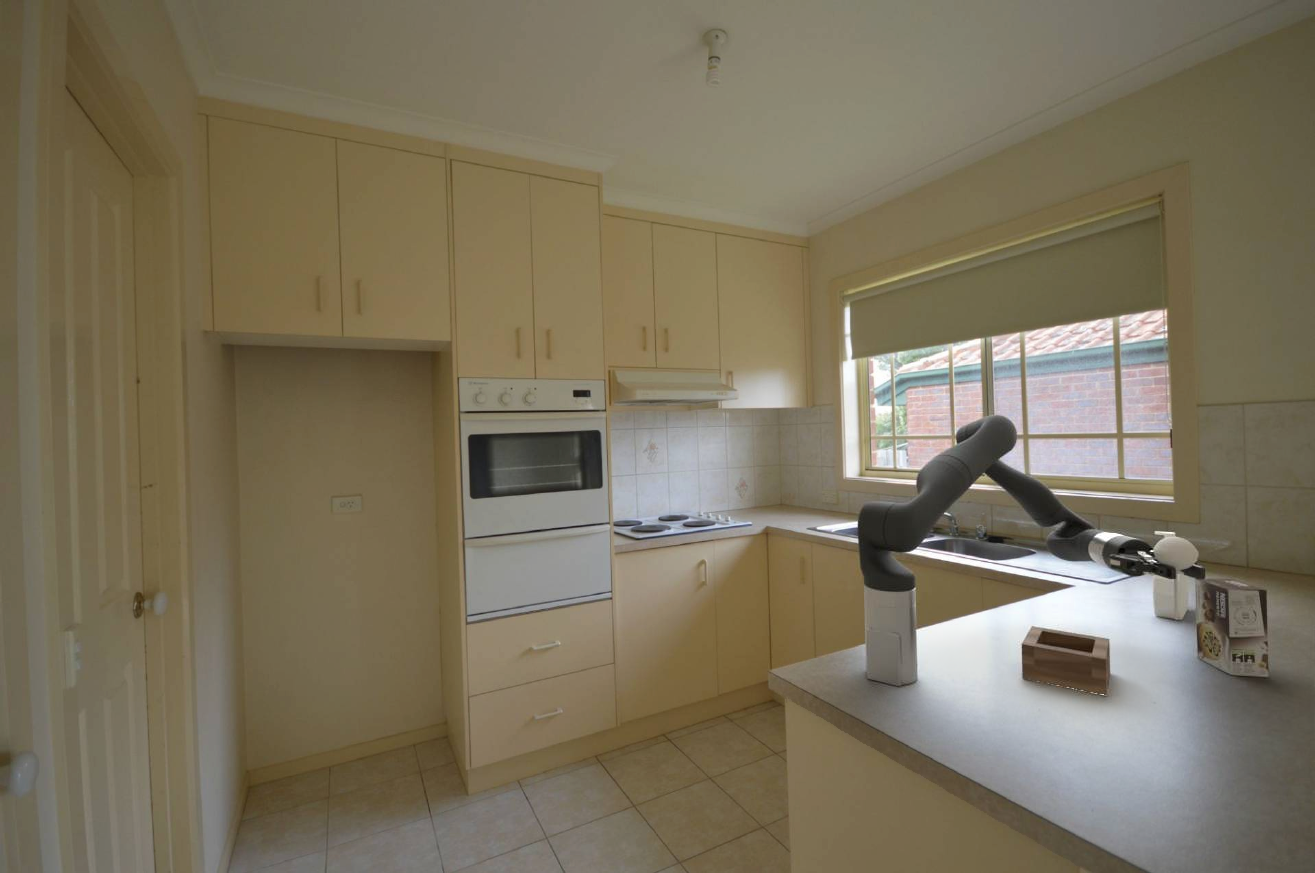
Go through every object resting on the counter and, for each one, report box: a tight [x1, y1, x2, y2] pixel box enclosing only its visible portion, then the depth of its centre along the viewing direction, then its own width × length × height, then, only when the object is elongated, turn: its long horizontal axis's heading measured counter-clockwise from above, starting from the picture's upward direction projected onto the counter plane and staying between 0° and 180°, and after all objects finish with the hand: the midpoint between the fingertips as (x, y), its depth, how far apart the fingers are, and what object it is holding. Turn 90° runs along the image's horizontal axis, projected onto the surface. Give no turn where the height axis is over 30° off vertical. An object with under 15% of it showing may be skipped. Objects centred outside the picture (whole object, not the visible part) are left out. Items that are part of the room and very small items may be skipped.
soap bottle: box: [1152, 530, 1189, 621], centre depth 145 cm, size 16×5×20 cm, turn 133°
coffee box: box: [1194, 578, 1270, 678], centre depth 112 cm, size 9×6×16 cm
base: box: [1021, 625, 1111, 696], centre depth 110 cm, size 12×12×6 cm
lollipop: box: [1153, 536, 1199, 621], centre depth 106 cm, size 6×6×15 cm
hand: (1188, 573), depth 103 cm, fingers closed on lollipop, 4 cm apart
